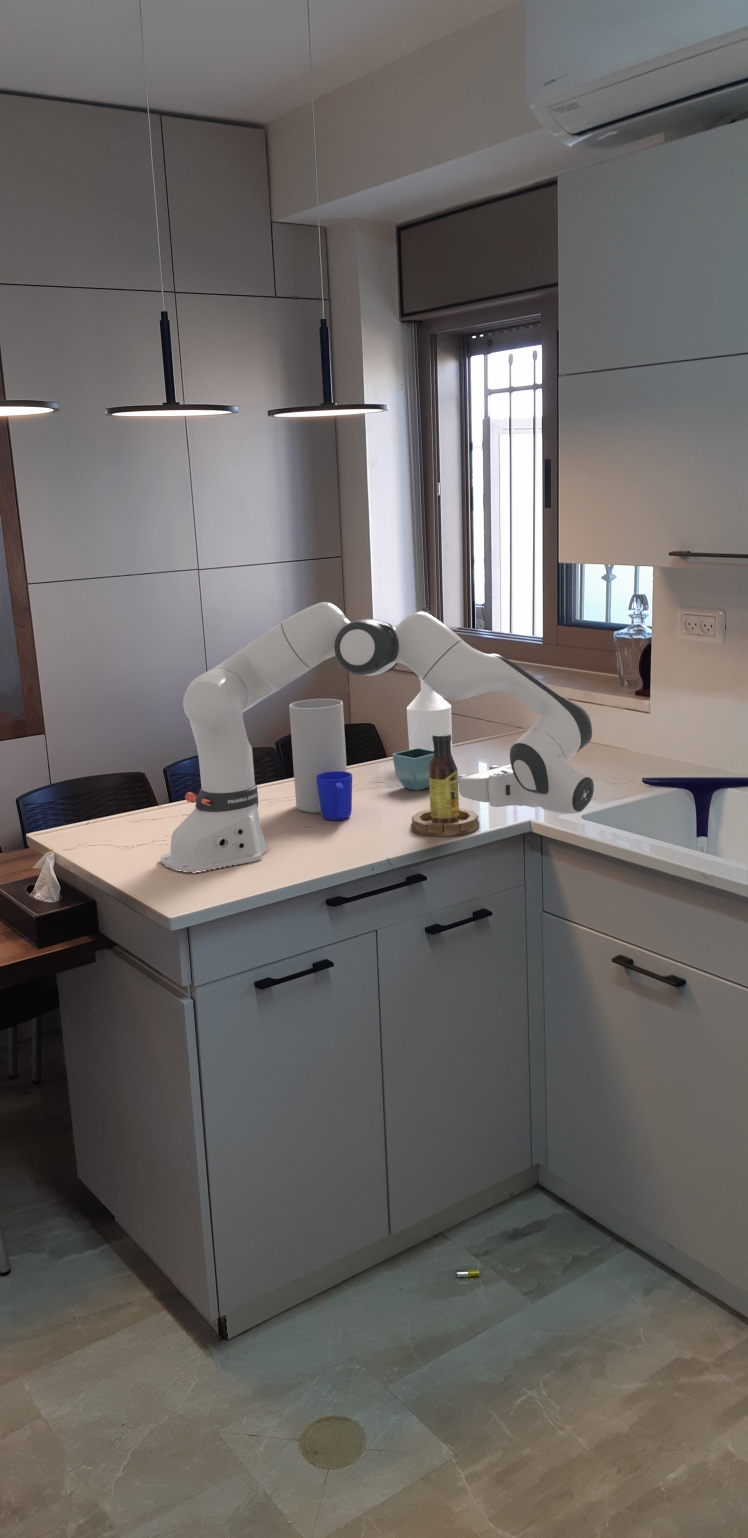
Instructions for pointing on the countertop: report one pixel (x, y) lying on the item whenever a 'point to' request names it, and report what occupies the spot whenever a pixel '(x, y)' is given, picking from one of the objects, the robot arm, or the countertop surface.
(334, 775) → the mug
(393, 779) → the countertop surface
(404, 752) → the flower pot
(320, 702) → the cylinder vase
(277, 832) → the countertop surface
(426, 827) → the tray
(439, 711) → the bottle
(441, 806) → the sauce bottle
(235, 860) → the robot arm
